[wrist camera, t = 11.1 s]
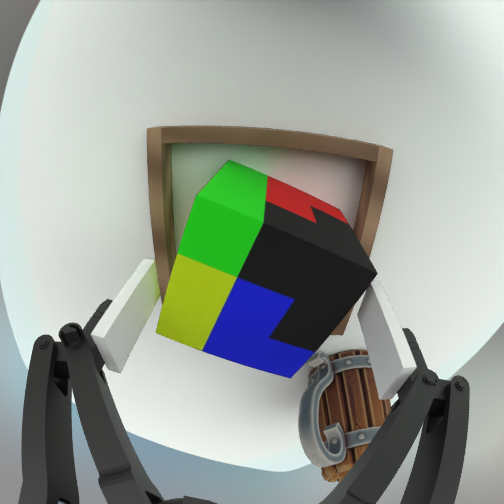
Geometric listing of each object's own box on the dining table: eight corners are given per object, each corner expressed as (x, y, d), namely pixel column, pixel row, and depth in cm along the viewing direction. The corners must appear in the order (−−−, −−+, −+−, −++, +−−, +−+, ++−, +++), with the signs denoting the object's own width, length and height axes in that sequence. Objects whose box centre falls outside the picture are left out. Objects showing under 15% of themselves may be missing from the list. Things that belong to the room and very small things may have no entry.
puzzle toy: (287, 295, 27) (290, 378, 18) (192, 258, 25) (155, 332, 17) (339, 209, 22) (377, 273, 13) (229, 159, 21) (196, 194, 12)
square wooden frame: (158, 126, 20) (147, 128, 18) (382, 146, 19) (393, 149, 17) (170, 305, 28) (164, 318, 27) (339, 321, 28) (342, 335, 26)
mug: (393, 368, 32) (418, 460, 19) (333, 399, 36) (341, 486, 23) (339, 311, 27) (366, 442, 14) (265, 355, 31) (257, 471, 18)
